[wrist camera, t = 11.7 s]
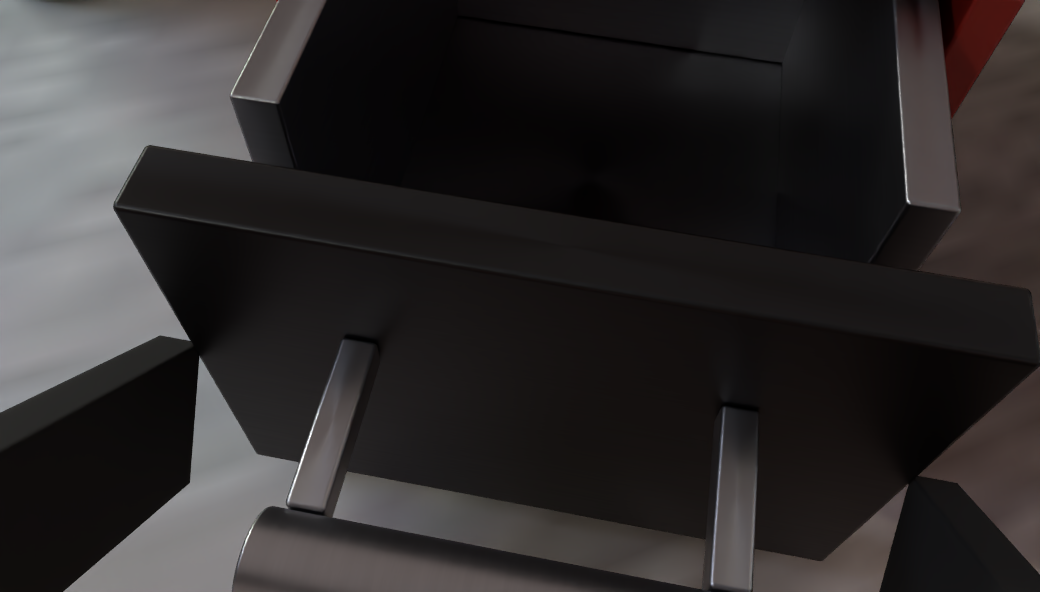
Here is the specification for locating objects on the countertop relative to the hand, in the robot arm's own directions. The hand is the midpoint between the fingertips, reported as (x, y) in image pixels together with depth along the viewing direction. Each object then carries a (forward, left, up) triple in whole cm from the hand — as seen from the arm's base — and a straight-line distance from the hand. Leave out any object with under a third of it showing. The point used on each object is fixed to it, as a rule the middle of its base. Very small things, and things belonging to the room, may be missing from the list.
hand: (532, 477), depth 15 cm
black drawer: (+4, -5, -4) cm, 7 cm away
